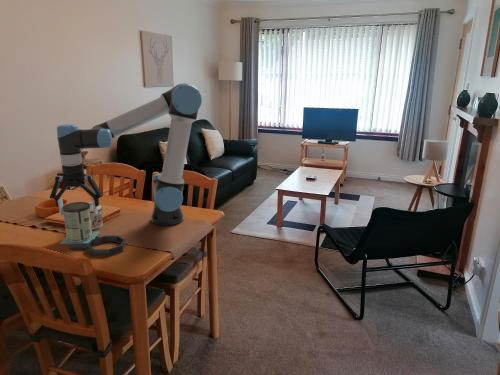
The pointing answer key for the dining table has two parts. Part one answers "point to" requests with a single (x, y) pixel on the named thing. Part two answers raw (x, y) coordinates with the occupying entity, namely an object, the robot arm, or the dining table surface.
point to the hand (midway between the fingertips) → (79, 214)
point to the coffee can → (77, 221)
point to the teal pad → (80, 242)
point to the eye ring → (98, 241)
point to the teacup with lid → (96, 217)
